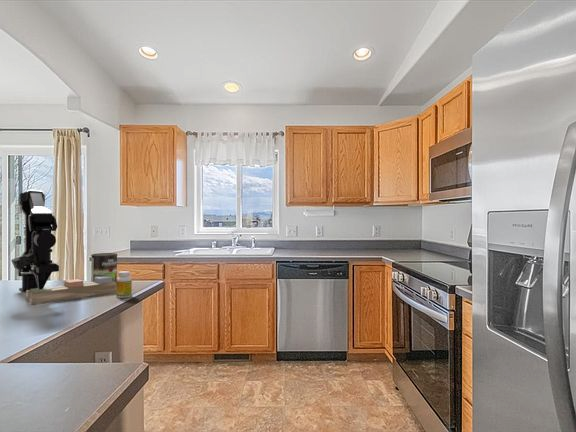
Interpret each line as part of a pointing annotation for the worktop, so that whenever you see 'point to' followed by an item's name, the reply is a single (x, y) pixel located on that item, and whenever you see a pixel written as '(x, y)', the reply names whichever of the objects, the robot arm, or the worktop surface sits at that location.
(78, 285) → the terracotta key
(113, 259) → the coffee can
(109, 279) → the slate key
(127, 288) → the supplement bottle
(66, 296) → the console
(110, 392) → the worktop surface
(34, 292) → the sage key
